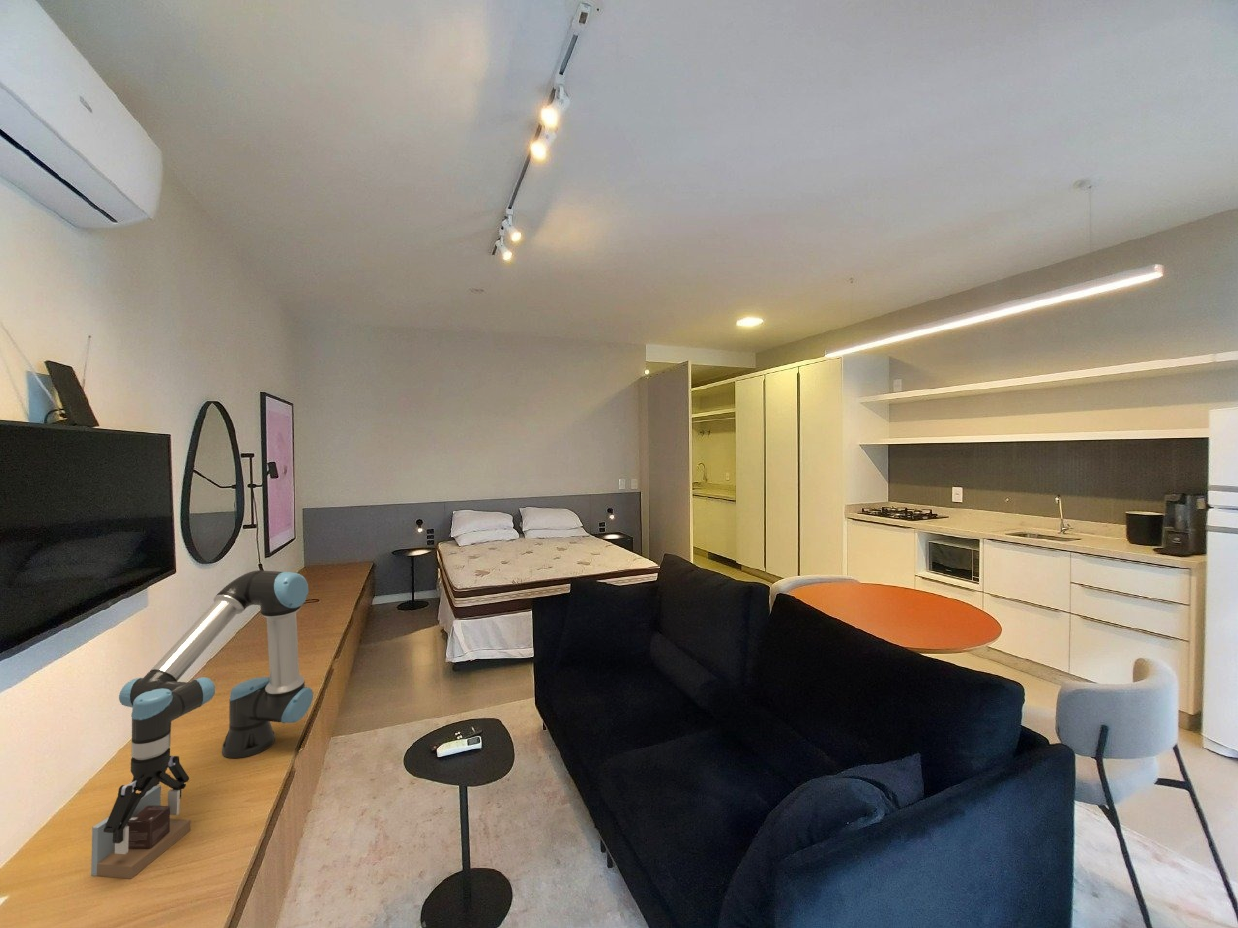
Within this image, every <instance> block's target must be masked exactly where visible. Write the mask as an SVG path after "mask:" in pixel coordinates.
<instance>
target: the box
mask: <svg viewBox="0 0 1238 928" xmlns="http://www.w3.org/2000/svg"><path fill="white" fill-rule="evenodd" d="M170 818H171V815H170V806H168V805H161V806H147V807H145V808H144V809H143V810H142V811H140V812H139V813H138V814H136V815H135V816H134V817H132V818H131V819H130V820H129V821H128V823H127V826H129V840H128V849H137V848H138V849H142V848H143V849H145V848H146V849H150V848H152V847H153V846H154V845H155V844H156V843H157V842H158V841H160V840H161V839H162V838H163V837H164V836H165V835H167V834H168V833H169V832H170Z"/></svg>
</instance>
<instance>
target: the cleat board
mask: <svg viewBox="0 0 1238 928" xmlns="http://www.w3.org/2000/svg"><path fill="white" fill-rule="evenodd" d="M161 796H162V785H159V784H158V785H157V786H154V787H153V788H152V789H151V790H149V791H147V793H146V794H145V796H144V797H142V798H141V800H140V802H139V803H138V805H137V807H136V809H135V810H134V812H133V814H132V816H131V817H130V819H131V818H132V817H134V816H135V815H136V814H138V813H139V812H140V811H142V810H143V809H144V808H145V807H147V806H162V805H161V801H162V797H161ZM108 818H109V816H107V817H106V818H104V819H102V820H101V821H100V822H98V823H96V824H95V825H94V826H92V829H91V865H90V866H91V867H90V876H91V877H92V876H94V877H104V878H106V877H107V878H117V879H128V880H133V878H134V877H136V876H137V875H138V874H139V873H140V872H142V871H143V870H144V869H145V868H147V867H148V866H149V865H150V864H151V863H153V862H154V861H155V860H156V859H158V858H159V857H160V856H161V855H162V854H163V853H164V852H166V851H167V850H169V848H171V847H172V846H174V845H175V844H176V843H177V842H178V841H179V840H181V839H182V838H184V837H185V836H186V835H187V834H188V833H190V832H191V828H192V825H191V823H192V822H191V821H192V819H186V818H185V819H183V818H173V817H172V818H171V817H170V832H169V833H168V834H167V835H165V836H164V837H163V838H162V839H161V840H160V841H158V842H157V843H156V844H155V845H154V846H153V847H152V848H150V849H146V848H145V849H143V848H142V849H138V848H137V849H128V852H127V853H126V854H115V843H113V833H106V832H103V830H104V828H105V826H106V823H107V821H108ZM130 819H129V820H130ZM120 824H121V823H120ZM126 826H127V825H126Z"/></svg>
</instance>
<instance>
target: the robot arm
mask: <svg viewBox="0 0 1238 928" xmlns="http://www.w3.org/2000/svg"><path fill="white" fill-rule="evenodd" d="M308 594H309V585H308V581H307V579H306V578H305V576H303V575H302V574H300V573H296V572H292V571H277V570H275V571H274V570H263V569H260V570H258V569H257V570H253V571H249V572H247V573H244V574H242V575H240V576H238V577H237V578H235V579H234V580H232V581H231V582H229V583H227V585H226V586H224V587H223V588H222V589H221V590H220V591H219V592H218V593H217V594H216V595H214V598H213V603H212V604H211V605H210V606H209V608H207V609H206V611H205V612H203V614H202V615H201V616H200V617H199V618H198V619H197V620H196V621H195V622H194V623H193V625H192V626H191V627H190V628H189V629H188V630H187V631H186V632H185V633H184V634H183V635H182V636H181V637H180V638H179V639H178V640H177V642H175V644H174V645H173V646H172V647H171V648H170V649H169V650H168V651H167V652H166V653H165V654H164V655H163V657H161V659H159V660H158V662H157V663H156V664H155V665H154V666H153V667H152V668H151V669H150V671H148V672H147V673H146V674H145V675H144V676H143V677H139V678H138V677H137V678H134V679H133V678H132V679H131V680H130V681H128V682H127V683H125V684H124V686H122V688H121V690H120V692H119V695H118V700H119V703H120V705H122V706H124V707H127V708H132V711H131V745H130V746H131V754H130V755H131V759H130V773H131V775H132V780H131V782H130V783H128V784H122V785H120V786H119V788H118V791H117V792H118V793H117V797H116V800H115V801H114V804H113V806H112V809H111V812H110V814H109V816H108V817H109V818H108V821H107V823H106V826H105V828H104V830H103V832H106V833H113V843H115V854H126V853H127V852H128V840H129V826H126V825H127V823H128V821H129V819H130V817H131V816H132V814H133V812H134V810H135V809H136V807H137V805H138V803H139V802H140V800H141V798H142V797H144V796H145V794H146V793H147V791H149V790H151V789H152V788H153V787H154V786H157V785H159V784H160V783H162V784H164V785H165V786H167V787H169V788H171V789H169V790H168V791H167V806H170V816H178V815H179V814H180V804H181V801H180V800H181V798H182V790H184V789H185V788H186V787H187V784H186V783H188V782H189V781H190V777H189V775H188V773H187V772H186V771H185V769H184V768H183V765H182V764H181V763H180V756H179V755H171V734H172V733H171V731H172V722H173V721H174V720H177V719H179V718H181V717H183V716H184V715H186V714H189V713H190V712H192V711H194V710H196V709H199V708H200V707H203V705H205V704H206V703H208V702H210V701H211V700H212V699H213V698H214V696H215V694H216V686H215V683H214V681H212V679H210V678H208V677H206V676H203V677H202V676H201V677H198V678H195V679H192V680H191V681H187V682H186V681H179V680H180V679H181V677H183V675H185V673H186V672H187V671H188V669H190V667H191V666H192V665H193V664H194V663H195V662H196V661H197V659H198V658H199V657H200V656H201V655H202V654H203V653H204V652H205V650H206V649H207V648H208V647H209V646H210V645H211V644H212V643H213V641H214V640H215V639H216V638H217V637H218V636H219V635H220V633H221V632H222V631H224V630H223V629H225V628H226V627H227V625H228V624H229V623H230V622H231V621H232V620H233V618H234V617H235V616H236V615H239V614H240V615H241V614H242V613H243V612H244V611H245V610H246V609H247V608H248V607H250V606H259V607H260V608H259V609H260V615H261V616H262V617H264V618H265V619H266V628H267V629H266V632H267V633H266V634H267V648H268V649H267V652H268V664H269V665H268V667H269V669H268V670H269V677H268V676H260V677H255V678H250V679H248V680H247V679H246V680H244V681H241V682H239V683H238V684H236V685H234V687H232V688H231V690H230V697H229V705H228V706H229V711H228V712H229V715H228V716H229V725H228V731H227V733H226V736H225V737H224V741H223V743H222V749H221V750H222V751H221V753H222V756H224V758H228V759H240V758H241V759H242V758H246V757H251V756H254V755H256V754H257V755H258V754H260V753H261V752H263V751H266V750H267V749H269V748H270V747H271V746H272V745H273V744H274V743H275V740H276V739H275V738H276V737H275V735H276V734H275V730H273V726H272V723H273V722H274V723H282V724H294V723H297V722H298V721H300V720H301V719H302V718H304V717H305V715H306V714H307V713H308V711H309V709H310V707H311V705H312V702H313V699H314V691H313V689H312V688H311V687H309V686H306V685H305V682H306V681H305V677H304V676H302V675H301V674H300V665H299V645H298V644H299V643H298V641H299V640H298V622H297V621H298V620H297V613H298V611H300V610H301V608H302V605H303V604H304V603H305V602H306V600H307V596H308ZM271 722H272V723H271ZM168 769H169V771H170V772H171V774H172V775H173V777H172V776H171V775H170V774H168V773H166V771H167V770H168ZM137 791H138V792H139V793H138V792H137ZM120 823H121V824H120Z"/></svg>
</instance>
